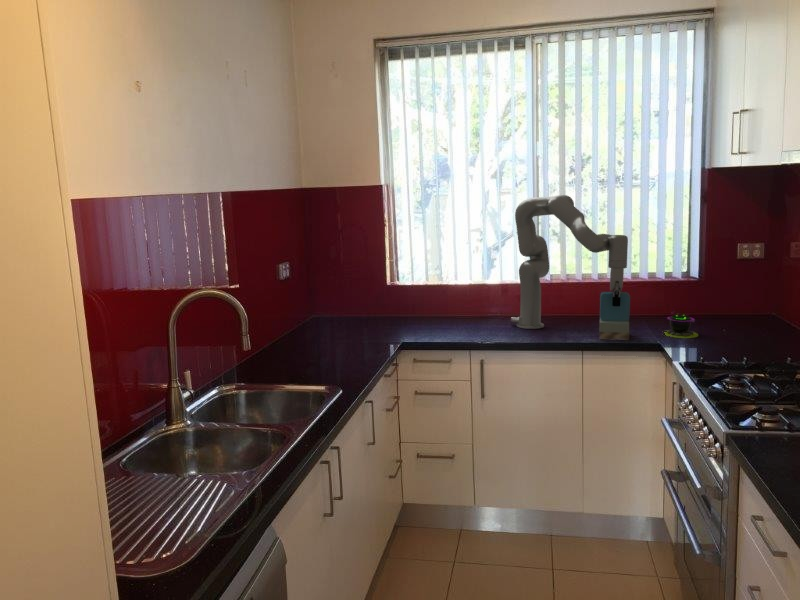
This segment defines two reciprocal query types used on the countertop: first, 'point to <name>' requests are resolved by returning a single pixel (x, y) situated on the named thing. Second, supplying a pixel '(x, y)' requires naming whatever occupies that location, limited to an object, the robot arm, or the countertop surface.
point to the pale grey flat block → (614, 326)
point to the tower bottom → (614, 335)
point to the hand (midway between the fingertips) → (616, 304)
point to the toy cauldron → (680, 327)
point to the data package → (614, 307)
